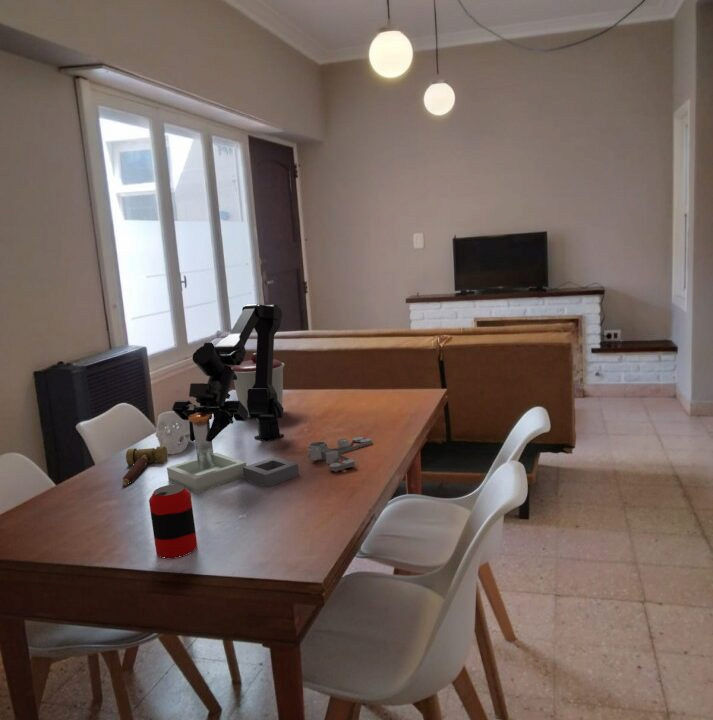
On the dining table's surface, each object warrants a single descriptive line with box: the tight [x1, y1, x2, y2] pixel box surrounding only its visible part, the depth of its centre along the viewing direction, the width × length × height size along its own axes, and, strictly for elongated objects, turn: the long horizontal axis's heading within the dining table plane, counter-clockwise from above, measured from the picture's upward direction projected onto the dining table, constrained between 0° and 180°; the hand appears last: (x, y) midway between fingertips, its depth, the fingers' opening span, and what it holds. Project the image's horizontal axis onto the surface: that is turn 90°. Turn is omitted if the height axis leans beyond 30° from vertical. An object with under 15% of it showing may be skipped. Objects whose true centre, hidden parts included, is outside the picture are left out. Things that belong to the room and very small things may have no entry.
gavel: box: [121, 445, 169, 486], centre depth 177 cm, size 21×5×10 cm
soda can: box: [148, 484, 198, 559], centre depth 128 cm, size 8×8×12 cm
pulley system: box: [307, 436, 373, 473], centre depth 178 cm, size 27×5×15 cm
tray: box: [166, 452, 247, 494], centre depth 168 cm, size 14×14×4 cm
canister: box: [231, 352, 285, 419], centre depth 226 cm, size 18×18×21 cm
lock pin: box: [188, 412, 215, 469], centre depth 166 cm, size 6×6×13 cm
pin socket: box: [243, 456, 300, 488], centre depth 165 cm, size 10×10×3 cm
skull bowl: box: [155, 410, 192, 455], centre depth 197 cm, size 10×14×12 cm
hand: (200, 440), depth 165 cm, fingers closed on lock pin, 4 cm apart
